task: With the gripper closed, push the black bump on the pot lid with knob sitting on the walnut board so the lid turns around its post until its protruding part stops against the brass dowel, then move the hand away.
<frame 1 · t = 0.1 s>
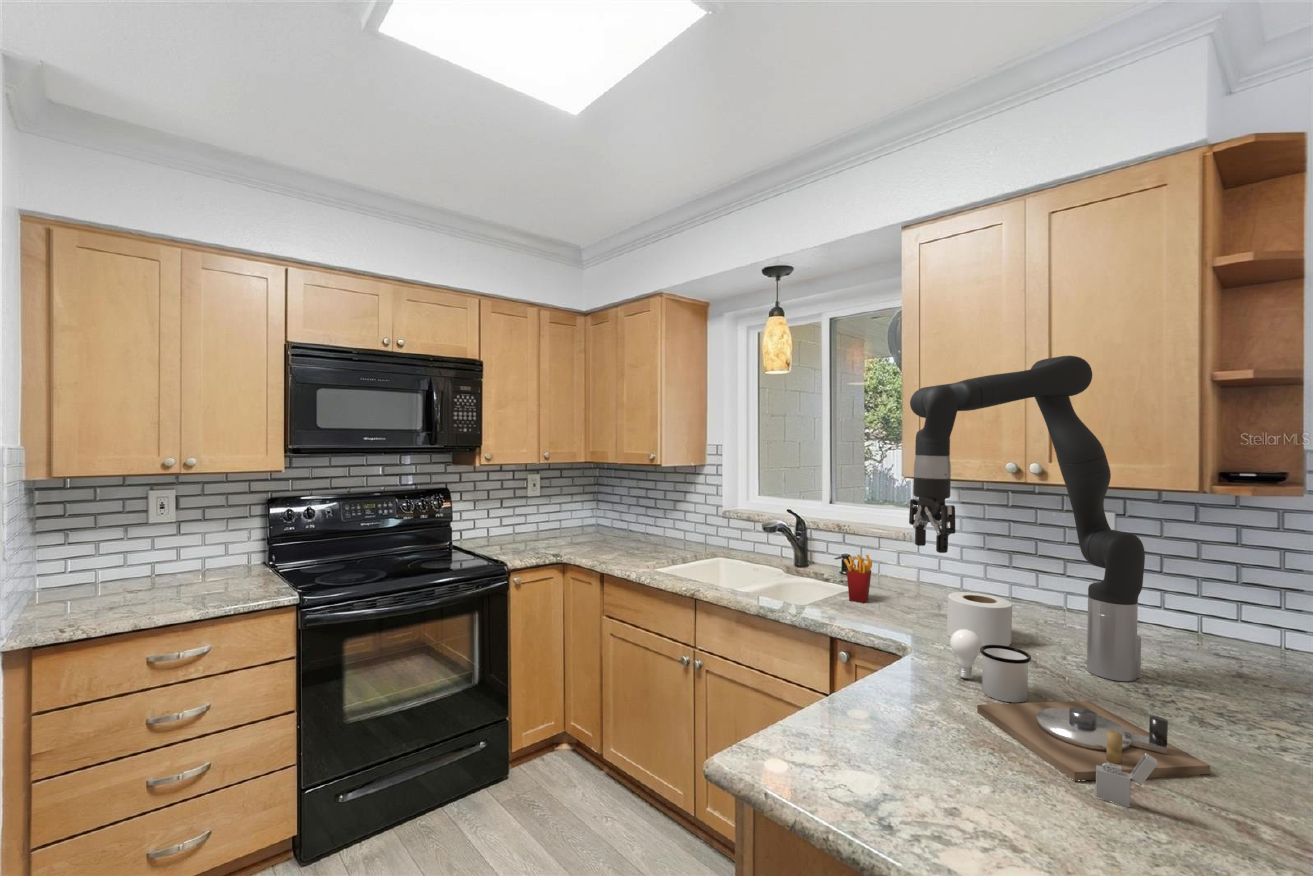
hand: (930, 548, 135), 29 cm above the worktop, tool pointing down, fingers open, 8 cm apart
lighter: (1125, 805, 90), on the worktop
toilet paper roll: (978, 639, 165), on the worktop
lightbulb: (965, 679, 136), on the worktop
mug: (1006, 694, 129), on the worktop
french fries: (857, 600, 202), on the worktop
pot lid with knob: (1099, 720, 108), point 4 cm above the worktop, hinge at 50.0°
walnut board: (1082, 740, 109), on the worktop
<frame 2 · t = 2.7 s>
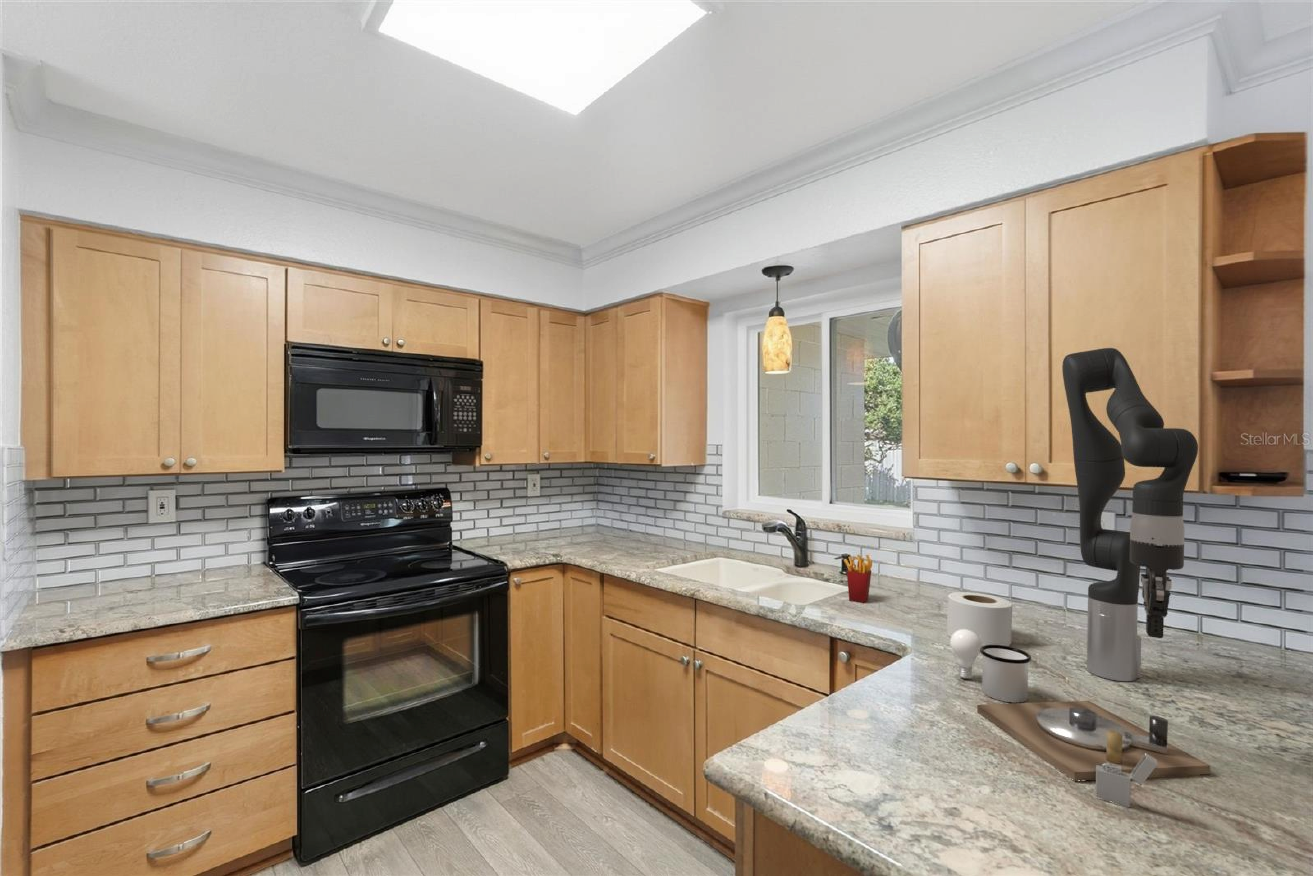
hand: (1154, 635, 109), 19 cm above the worktop, tool pointing down, fingers closed
nothing on the worktop moved.
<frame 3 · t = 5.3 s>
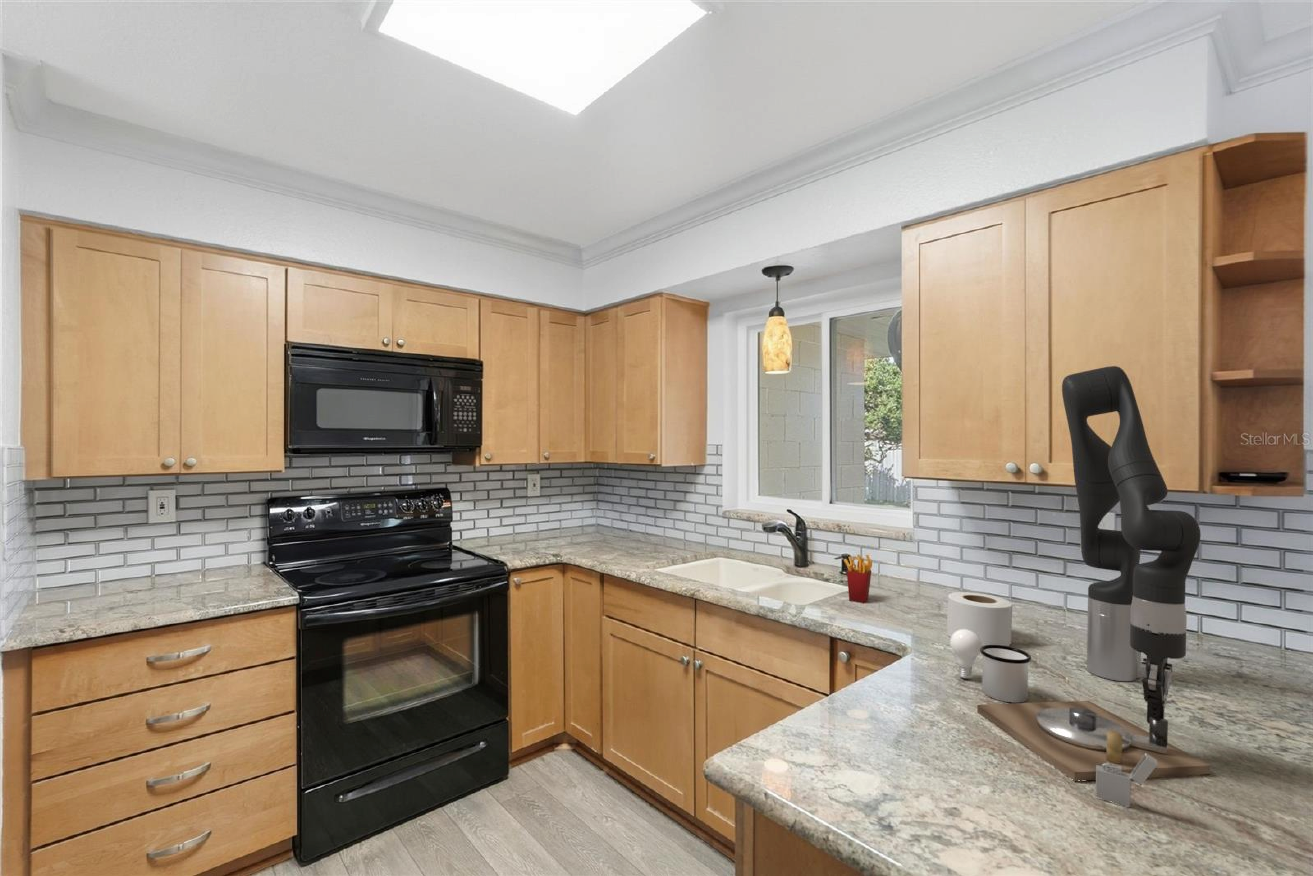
hand: (1155, 724, 106), 5 cm above the worktop, tool pointing down, fingers closed
pot lid with knob: (1099, 720, 108), point 4 cm above the worktop, hinge at 49.4°, touching gripper
everything else where it was.
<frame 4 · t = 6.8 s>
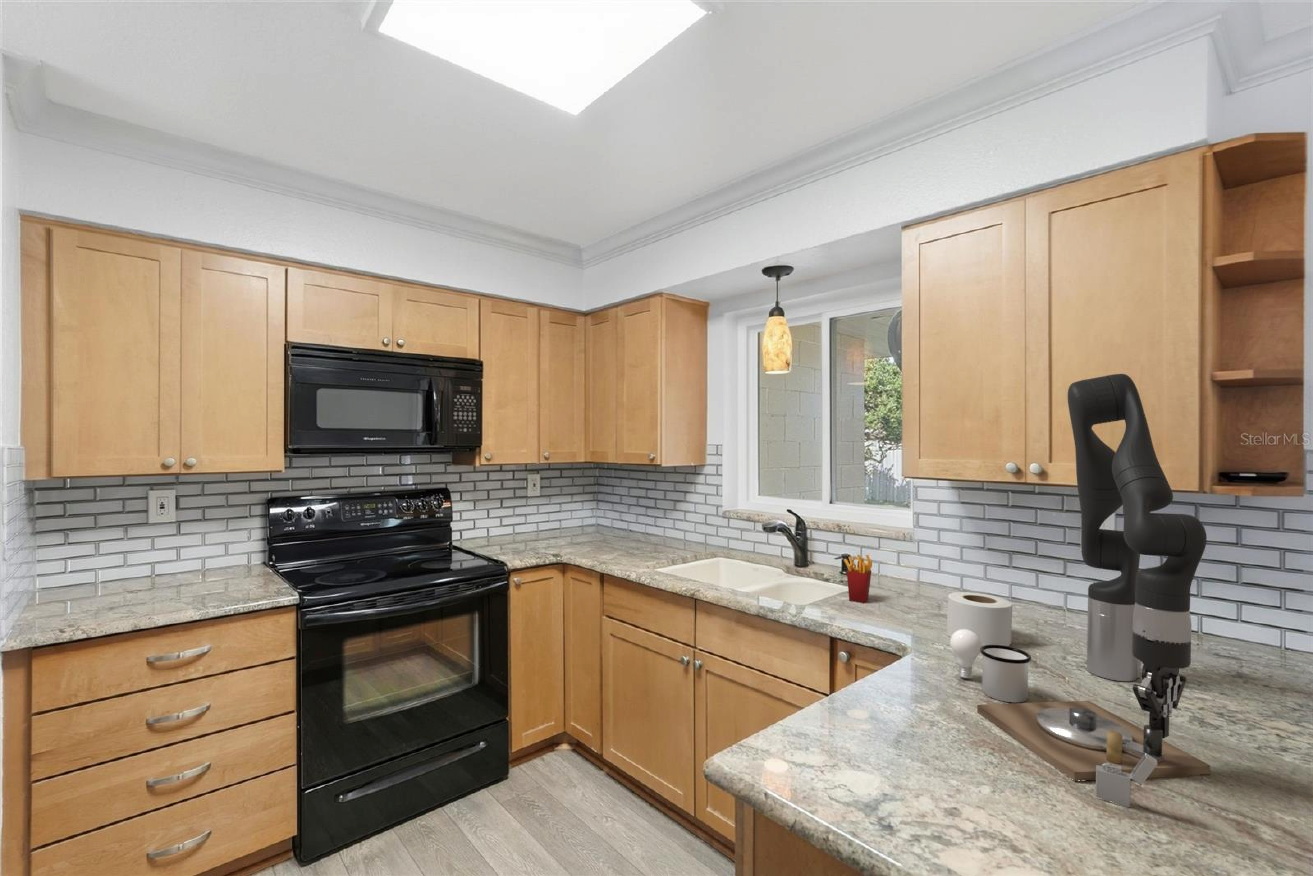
hand: (1158, 735, 102), 5 cm above the worktop, tool pointing down, fingers closed
pot lid with knob: (1097, 722, 107), point 4 cm above the worktop, hinge at 21.8°, touching gripper
everything else where it was.
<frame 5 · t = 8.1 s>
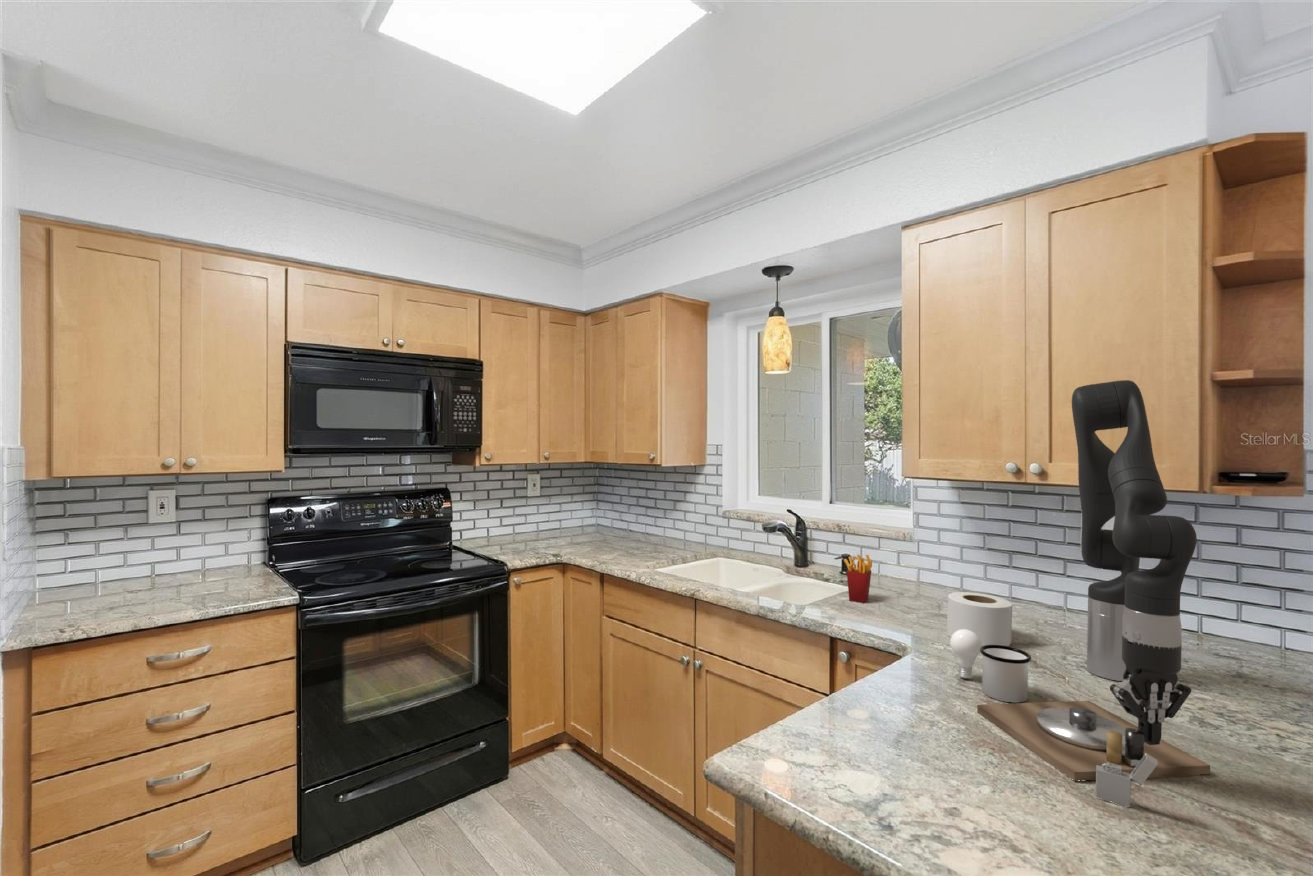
hand: (1149, 742, 99), 5 cm above the worktop, tool pointing down, fingers closed
pot lid with knob: (1093, 723, 107), point 4 cm above the worktop, hinge at -0.8°, touching gripper
everything else where it was.
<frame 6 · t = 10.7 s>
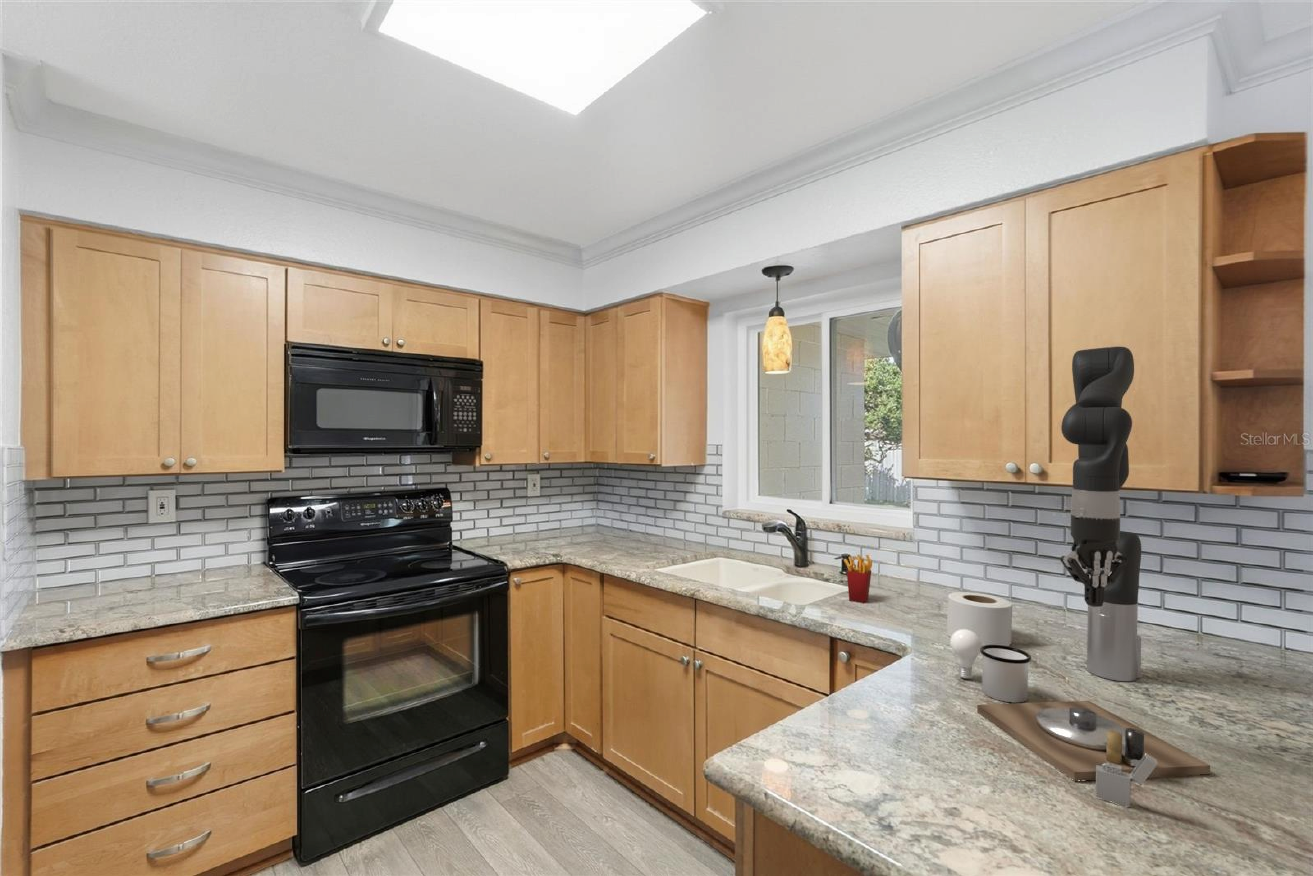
hand: (1094, 605, 114), 23 cm above the worktop, tool pointing down, fingers closed
pot lid with knob: (1093, 723, 107), point 4 cm above the worktop, hinge at -0.9°
everything else where it was.
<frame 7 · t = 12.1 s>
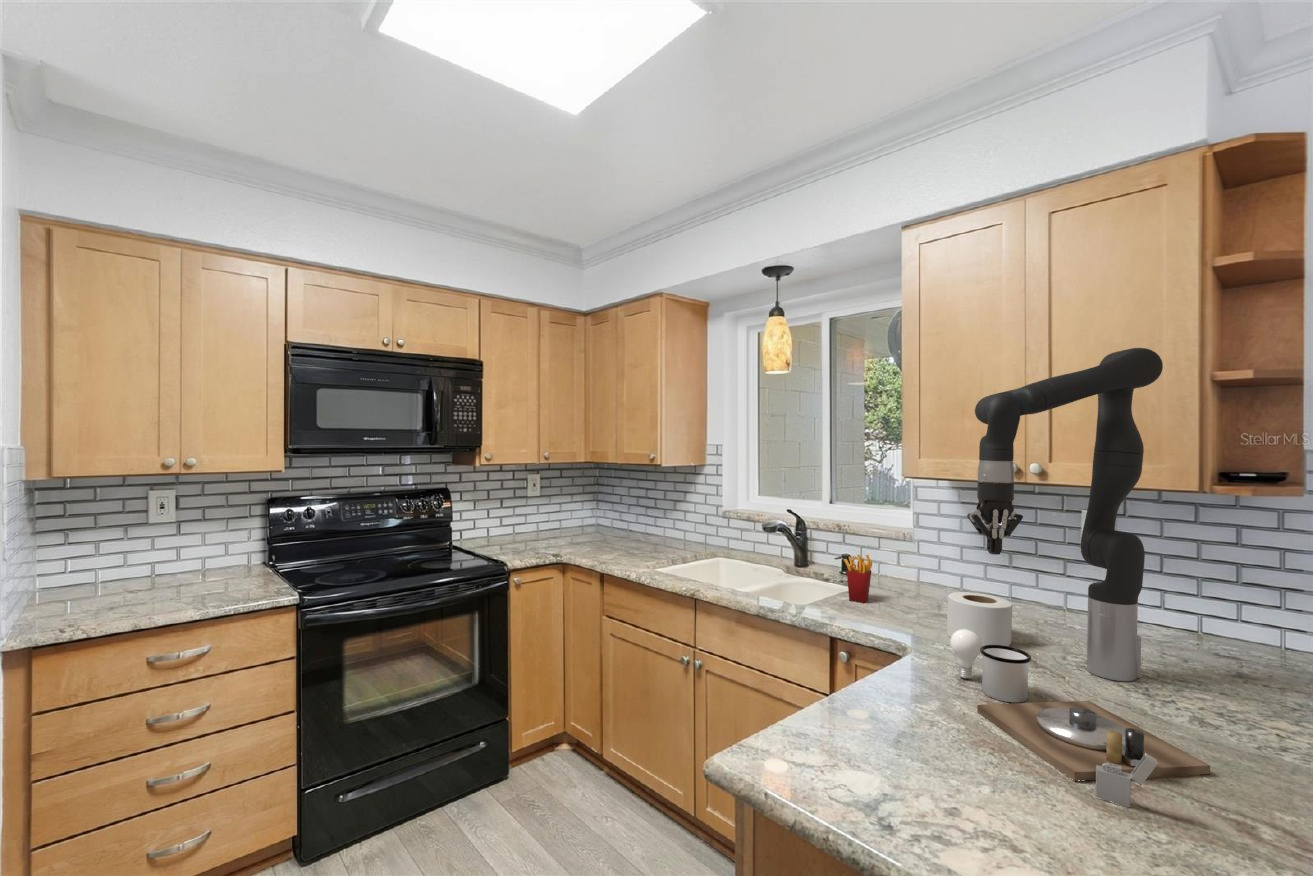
hand: (994, 553, 142), 27 cm above the worktop, tool pointing down, fingers closed
nothing on the worktop moved.
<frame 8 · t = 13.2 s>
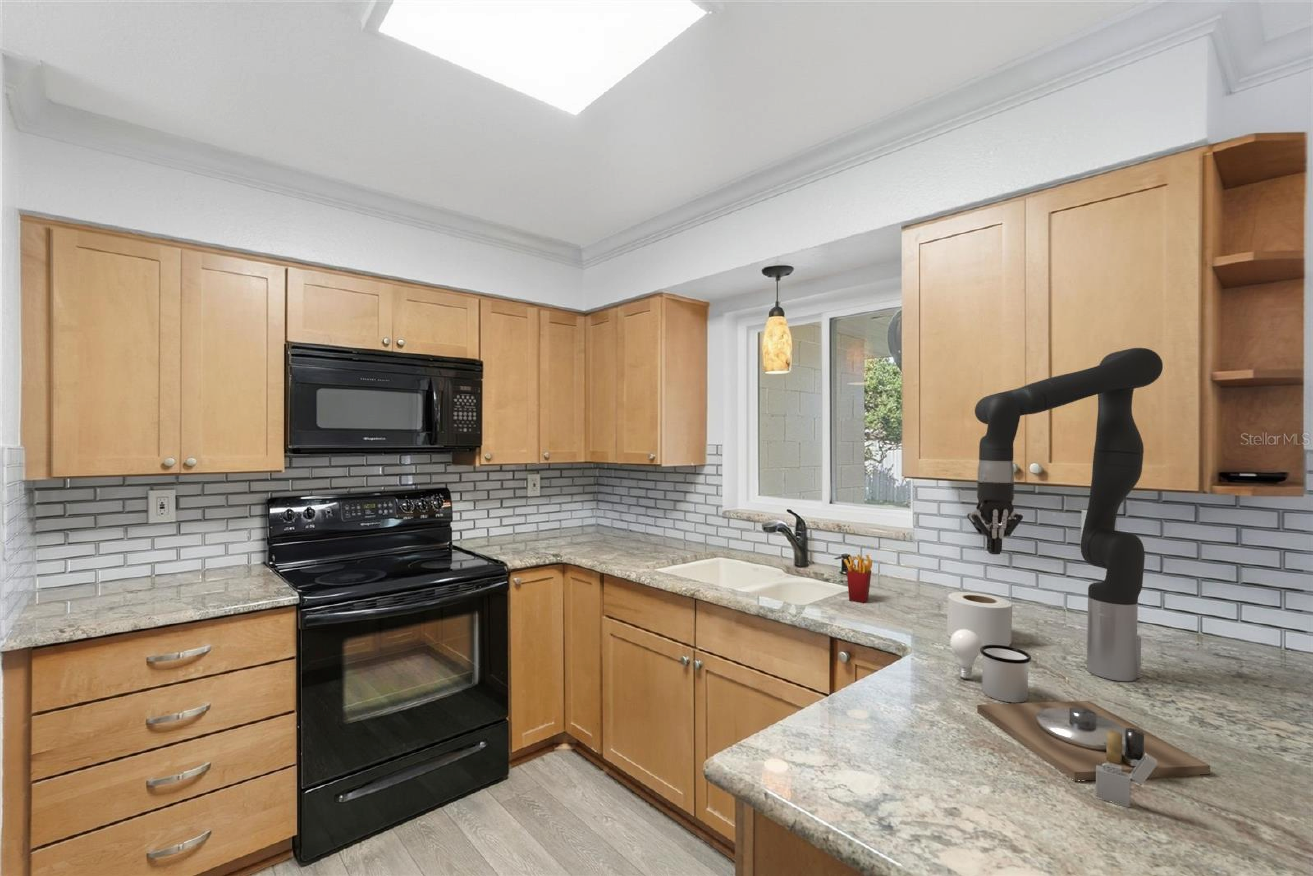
hand: (994, 553, 142), 27 cm above the worktop, tool pointing down, fingers closed
nothing on the worktop moved.
at the end: pot lid with knob at -1° (first picture: +50°) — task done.
